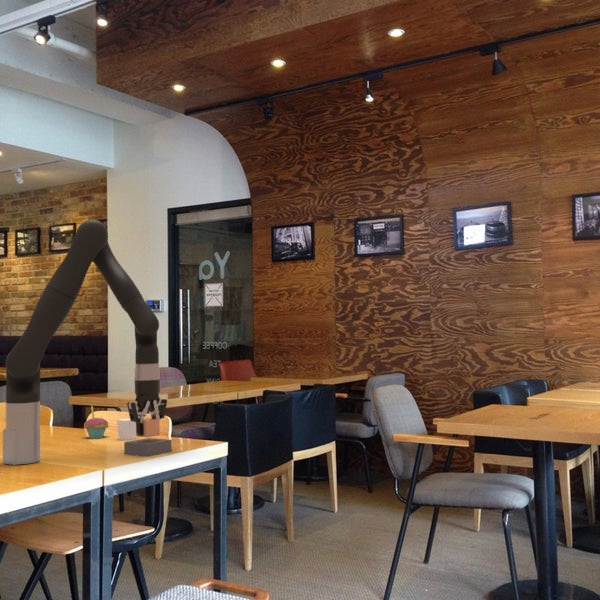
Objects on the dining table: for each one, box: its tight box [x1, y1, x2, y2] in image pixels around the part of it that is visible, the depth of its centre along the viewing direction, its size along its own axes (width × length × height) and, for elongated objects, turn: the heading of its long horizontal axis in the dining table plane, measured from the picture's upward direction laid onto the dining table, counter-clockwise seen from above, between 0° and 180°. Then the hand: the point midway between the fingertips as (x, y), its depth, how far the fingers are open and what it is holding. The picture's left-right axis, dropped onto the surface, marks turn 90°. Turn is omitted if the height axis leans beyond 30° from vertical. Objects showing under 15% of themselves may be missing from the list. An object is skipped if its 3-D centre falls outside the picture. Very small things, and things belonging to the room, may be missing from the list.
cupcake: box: [83, 404, 109, 440], centre depth 249 cm, size 9×8×12 cm
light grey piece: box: [116, 417, 137, 441], centre depth 243 cm, size 7×7×7 cm
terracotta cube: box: [136, 417, 161, 438], centre depth 211 cm, size 5×5×5 cm
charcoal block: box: [123, 437, 173, 458], centre depth 211 cm, size 10×10×4 cm
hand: (147, 434), depth 211 cm, fingers closed on terracotta cube, 5 cm apart
